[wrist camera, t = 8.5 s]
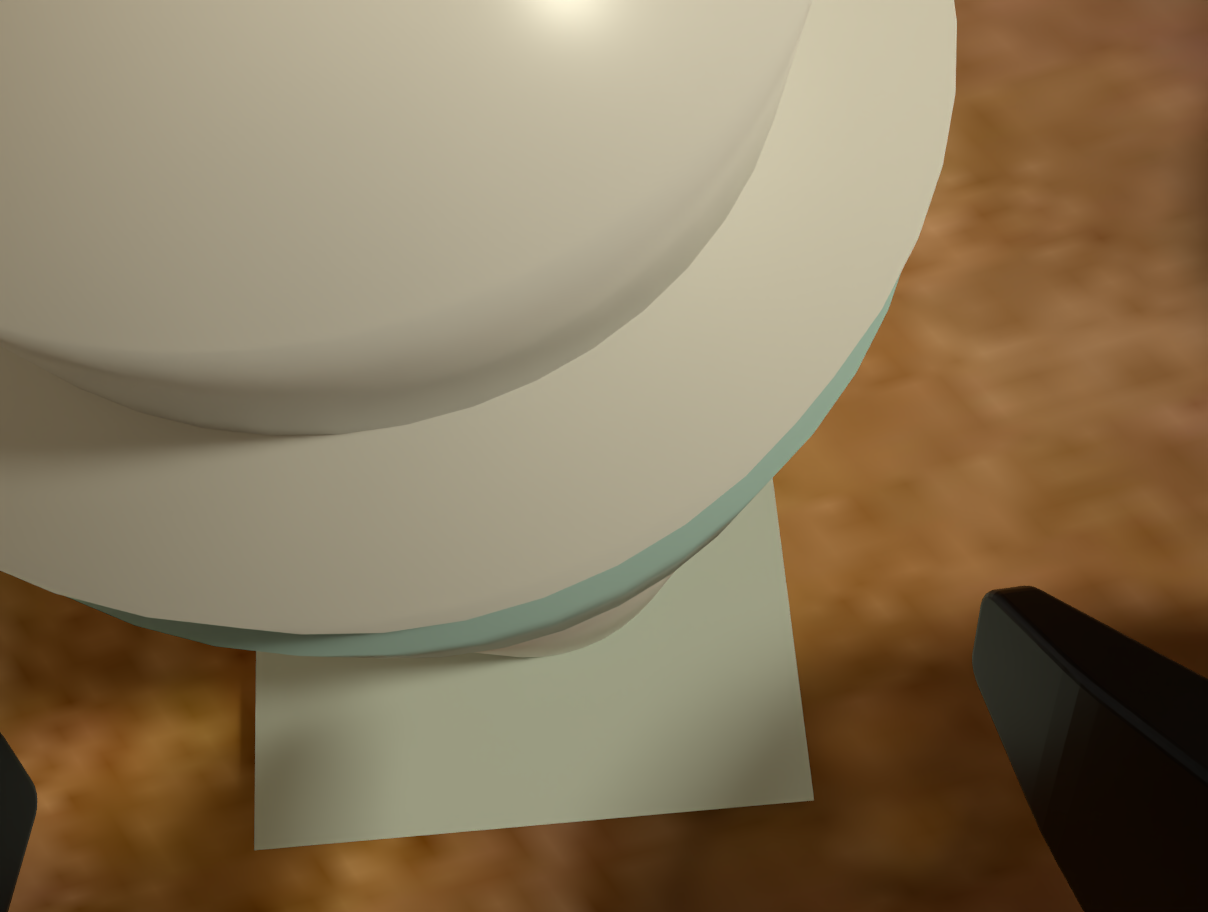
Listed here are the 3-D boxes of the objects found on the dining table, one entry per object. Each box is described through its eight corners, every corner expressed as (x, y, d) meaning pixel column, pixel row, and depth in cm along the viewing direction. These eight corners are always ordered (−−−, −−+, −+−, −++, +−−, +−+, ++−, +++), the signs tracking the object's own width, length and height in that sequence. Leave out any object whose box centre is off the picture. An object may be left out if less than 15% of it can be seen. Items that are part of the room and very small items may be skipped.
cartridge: (709, 647, 16) (1296, 557, 3) (375, 677, 16) (-889, 745, 2) (674, 336, 18) (935, -778, 4) (368, 360, 17) (-447, -722, 4)
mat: (809, 796, 16) (814, 800, 16) (262, 845, 16) (254, 850, 15) (744, 293, 18) (747, 285, 18) (266, 328, 18) (259, 321, 18)
